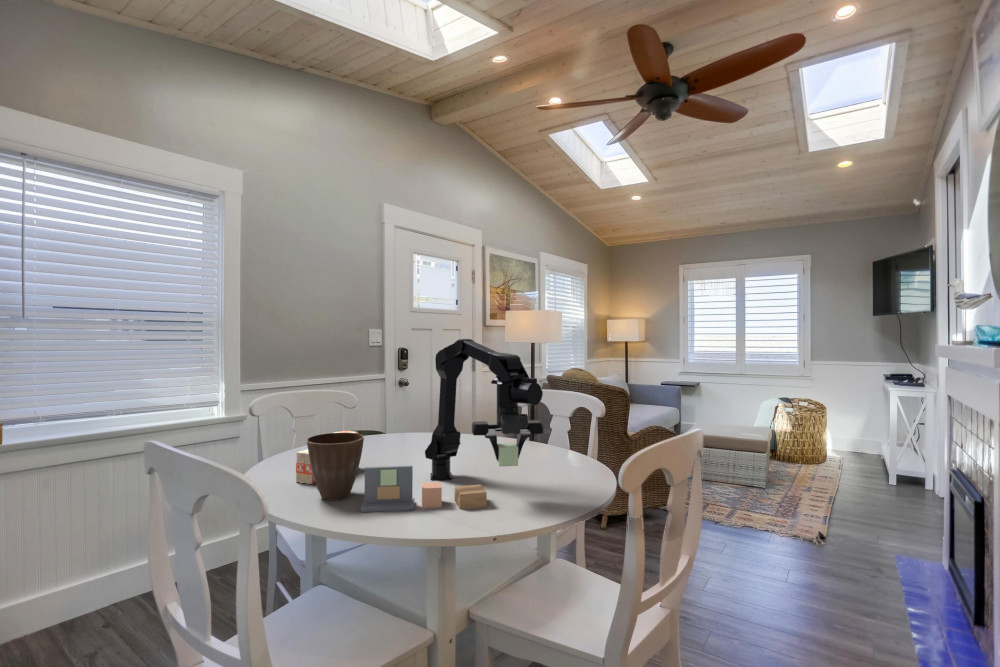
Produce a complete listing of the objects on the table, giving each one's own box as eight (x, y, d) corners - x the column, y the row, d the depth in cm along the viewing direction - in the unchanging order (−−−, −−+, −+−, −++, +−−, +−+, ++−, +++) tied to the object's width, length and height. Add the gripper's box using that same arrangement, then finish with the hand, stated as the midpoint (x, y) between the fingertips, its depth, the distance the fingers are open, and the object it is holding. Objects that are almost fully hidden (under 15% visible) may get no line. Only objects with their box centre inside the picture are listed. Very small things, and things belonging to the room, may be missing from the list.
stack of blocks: (312, 485, 149) (312, 443, 149) (295, 483, 151) (295, 442, 151) (358, 468, 169) (358, 431, 169) (343, 466, 171) (343, 429, 171)
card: (363, 504, 132) (363, 465, 132) (414, 502, 134) (414, 464, 134) (360, 512, 126) (360, 471, 126) (413, 509, 128) (413, 470, 128)
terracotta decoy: (422, 501, 134) (422, 482, 134) (441, 500, 135) (441, 482, 135) (421, 508, 129) (422, 488, 130) (441, 507, 130) (441, 487, 130)
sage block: (496, 461, 138) (496, 443, 138) (514, 461, 139) (514, 443, 139) (499, 466, 133) (499, 447, 133) (518, 465, 134) (518, 446, 134)
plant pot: (369, 500, 135) (369, 440, 135) (309, 508, 129) (309, 445, 129) (358, 485, 149) (358, 430, 149) (303, 492, 142) (304, 435, 142)
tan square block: (454, 501, 135) (454, 486, 135) (480, 499, 137) (480, 484, 137) (459, 510, 128) (459, 494, 128) (486, 507, 130) (486, 492, 130)
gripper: (475, 406, 127) (475, 468, 127) (548, 404, 129) (548, 466, 129) (471, 400, 138) (471, 458, 138) (538, 399, 141) (538, 456, 140)
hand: (507, 459), depth 136 cm, fingers closed on sage block, 5 cm apart
